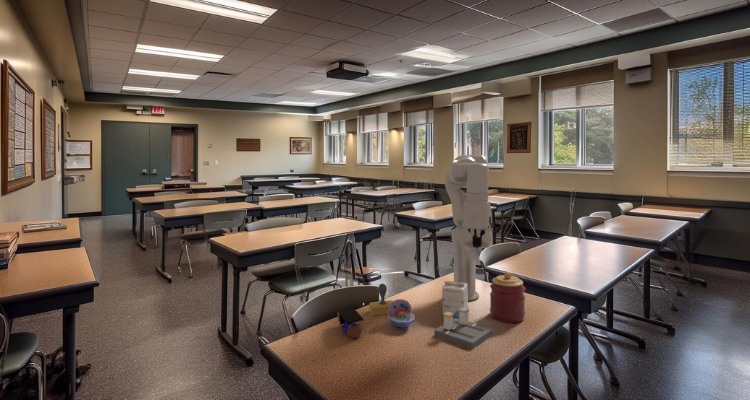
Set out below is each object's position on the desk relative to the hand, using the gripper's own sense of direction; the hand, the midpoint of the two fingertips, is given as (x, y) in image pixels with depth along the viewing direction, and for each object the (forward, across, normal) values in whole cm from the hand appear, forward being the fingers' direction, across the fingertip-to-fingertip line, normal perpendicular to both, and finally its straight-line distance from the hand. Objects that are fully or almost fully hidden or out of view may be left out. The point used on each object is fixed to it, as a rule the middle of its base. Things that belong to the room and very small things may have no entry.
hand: (477, 246), depth 142 cm
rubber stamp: (+29, -34, -15) cm, 47 cm away
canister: (+29, +6, +13) cm, 33 cm away
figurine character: (+29, -31, -36) cm, 56 cm away
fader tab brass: (+27, -3, -15) cm, 31 cm away
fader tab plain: (+27, 0, -9) cm, 28 cm away
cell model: (+29, -20, -20) cm, 41 cm away
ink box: (+29, -11, +3) cm, 32 cm away
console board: (+29, +2, -12) cm, 32 cm away
